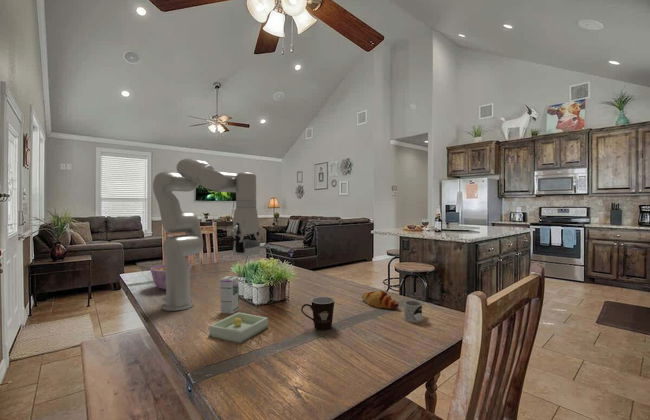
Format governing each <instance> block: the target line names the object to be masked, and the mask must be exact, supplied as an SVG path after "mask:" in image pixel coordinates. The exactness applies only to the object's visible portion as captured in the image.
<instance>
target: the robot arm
mask: <svg viewBox="0 0 650 420" xmlns="http://www.w3.org/2000/svg"><path fill="white" fill-rule="evenodd" d="M152 181H153V182H152V190H153V194H154V197H155V199H156V201H157V205H158V208H159V214H160V219H161V224H162V228H163V230H164V231H165V232H166V233H167V234H179V233H180V234H181V233H182V234H181V235H173V236H170V237H167V238H166V239H165V240H164V241H163V245H162V250H163V256H164V260H165V265H166V290H165V293H166V294H165V296H163V297H162V298H161V300H162V301H165V303H164V304H163V305H162V309H163V310H164V311H166V312H167V311H168V312H174V311H175V312H177V311H178V312H179V311H184V310H187V309H190V308H192V307H193V306H194V305H195V304H194V303H195V302H194V301H193V300H191V284H190V283H191V279H190V278H191V277H190V275H191V270H190V269H189V265H190V264H189V261H188V260H187V259H186V257H187V256H193V255H198V254H199V253H201V252H202V251H203V249H204V239H203V233H202V228H201V223H200V220H199V217H198V216H197V214H195V213H194V212H192V211H182V208H181V204H180V203H181V202H180V201H179V199H178V198H177V196H176V195H175V194H174V193H173V192H192V191H194V190H195V189H197V188H198V187H199V186H201V187H203V188H205V189H207V190H211V191H215V192H219V193H220V192H221V193H222V192H223V193H235V207H236V208H235V209H234V211H233V217H232V219H233V221H232V229H231V230H230V235H231V236H232V239H233V242H234V241H235V242H236V253H243V242H242V240H244V238H245V236H248V235H249V237H250V239H249V240H259V236H260V233H261V227H260V226H259V216H258V210H257V209H258V208H257V176H256V174H255V173H253V172H247V171H246V172H238V173H235V172H226V171H217V170H215V168H214V167H213V165H210V163H209V162H207V161H205V160H202V159H193V158H183V159H181V160H180V161H178V162H177V165H176V172H175V171H163V172H158V173H157V174H156V175H155V176H154V178H153V180H152ZM183 233H184V234H183Z"/></svg>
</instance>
